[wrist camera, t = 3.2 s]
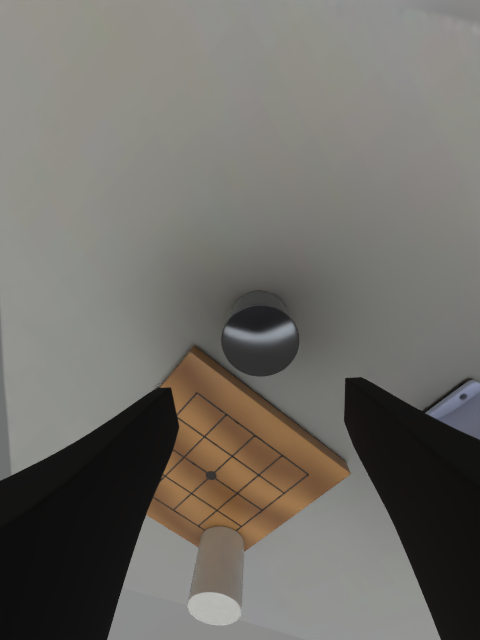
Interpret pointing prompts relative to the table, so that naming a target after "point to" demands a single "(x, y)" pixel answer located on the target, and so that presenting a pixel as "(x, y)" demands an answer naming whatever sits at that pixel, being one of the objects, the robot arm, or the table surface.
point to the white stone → (218, 577)
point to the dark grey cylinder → (260, 334)
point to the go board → (235, 458)
